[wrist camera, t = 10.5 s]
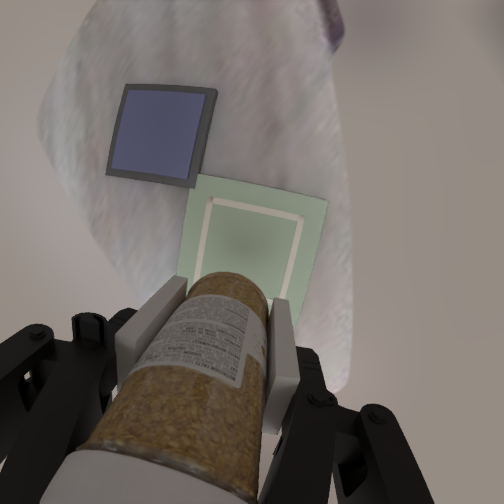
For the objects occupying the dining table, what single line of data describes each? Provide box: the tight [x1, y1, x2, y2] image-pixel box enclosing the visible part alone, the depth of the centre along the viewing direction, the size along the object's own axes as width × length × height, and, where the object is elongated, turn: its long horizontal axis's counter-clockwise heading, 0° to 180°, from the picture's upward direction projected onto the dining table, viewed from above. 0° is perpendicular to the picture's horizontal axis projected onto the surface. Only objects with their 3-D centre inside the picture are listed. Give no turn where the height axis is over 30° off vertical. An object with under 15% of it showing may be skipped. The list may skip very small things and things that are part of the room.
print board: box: [176, 174, 329, 326], centre depth 28 cm, size 13×13×1 cm
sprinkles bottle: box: [40, 272, 269, 504], centre depth 9 cm, size 5×5×13 cm
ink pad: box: [105, 84, 218, 189], centre depth 26 cm, size 10×10×1 cm
